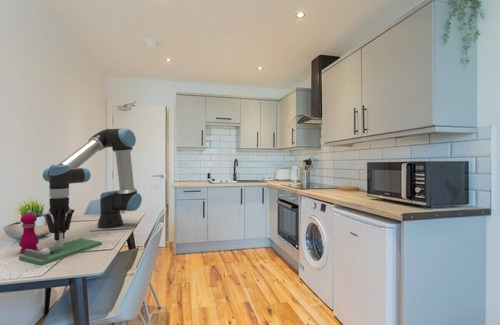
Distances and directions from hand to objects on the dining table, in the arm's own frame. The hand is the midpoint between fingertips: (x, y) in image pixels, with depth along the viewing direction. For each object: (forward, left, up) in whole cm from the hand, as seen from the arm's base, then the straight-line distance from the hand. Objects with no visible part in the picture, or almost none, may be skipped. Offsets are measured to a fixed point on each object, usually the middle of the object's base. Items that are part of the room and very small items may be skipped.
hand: (59, 246), depth 123 cm
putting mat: (-2, 0, -3) cm, 4 cm away
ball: (+6, 0, -1) cm, 6 cm away
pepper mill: (+4, -16, -3) cm, 17 cm away
